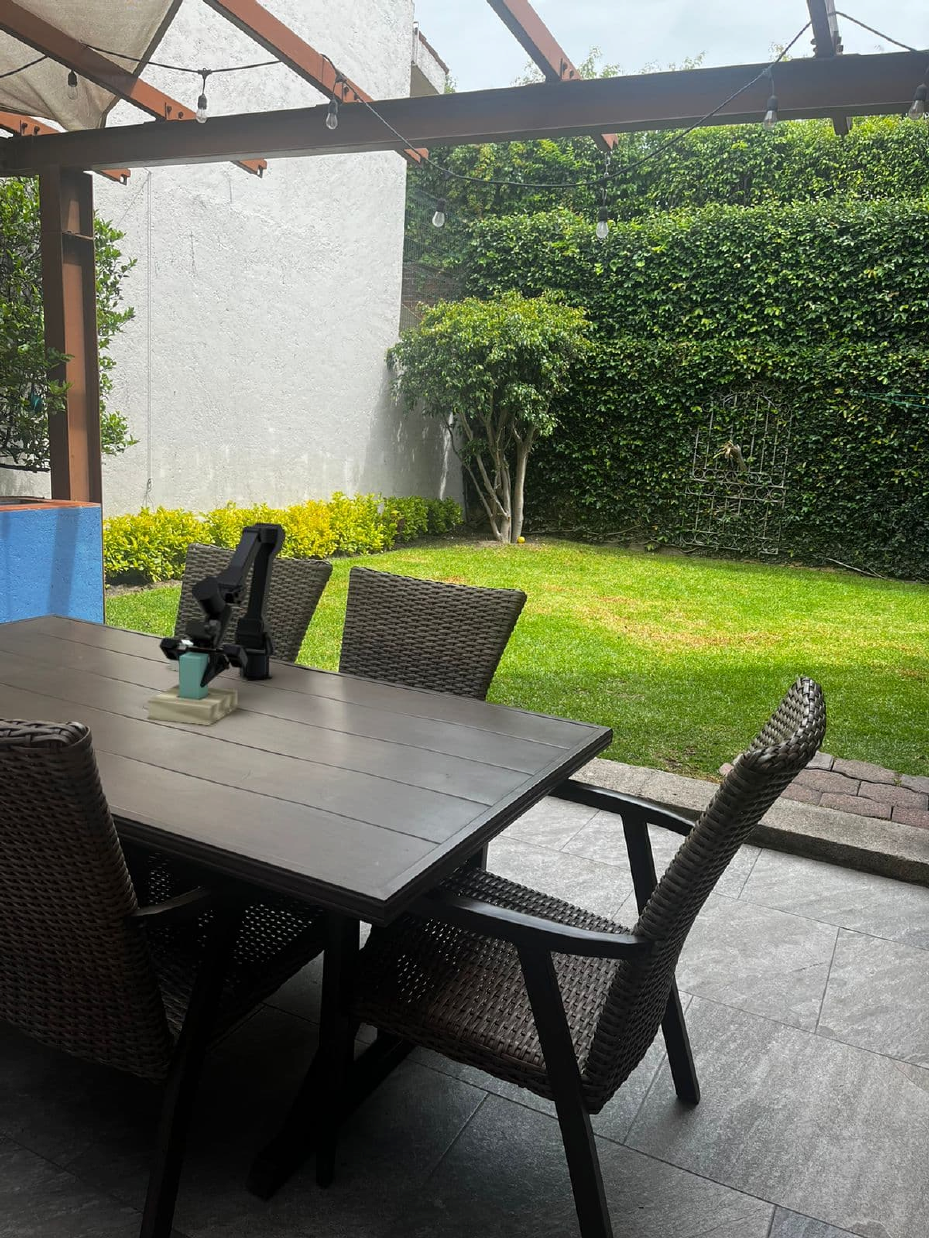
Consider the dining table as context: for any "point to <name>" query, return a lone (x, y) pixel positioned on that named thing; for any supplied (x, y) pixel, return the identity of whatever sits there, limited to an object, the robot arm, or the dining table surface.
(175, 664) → the white short cylinder
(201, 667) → the peg
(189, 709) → the pocket block
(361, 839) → the dining table surface
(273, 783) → the dining table surface
